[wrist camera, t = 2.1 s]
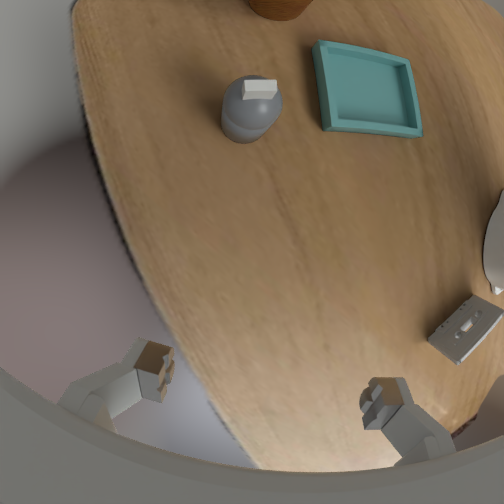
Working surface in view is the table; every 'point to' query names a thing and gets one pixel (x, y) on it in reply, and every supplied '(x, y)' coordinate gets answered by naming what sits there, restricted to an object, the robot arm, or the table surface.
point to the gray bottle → (250, 108)
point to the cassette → (453, 329)
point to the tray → (365, 91)
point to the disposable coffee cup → (279, 8)
